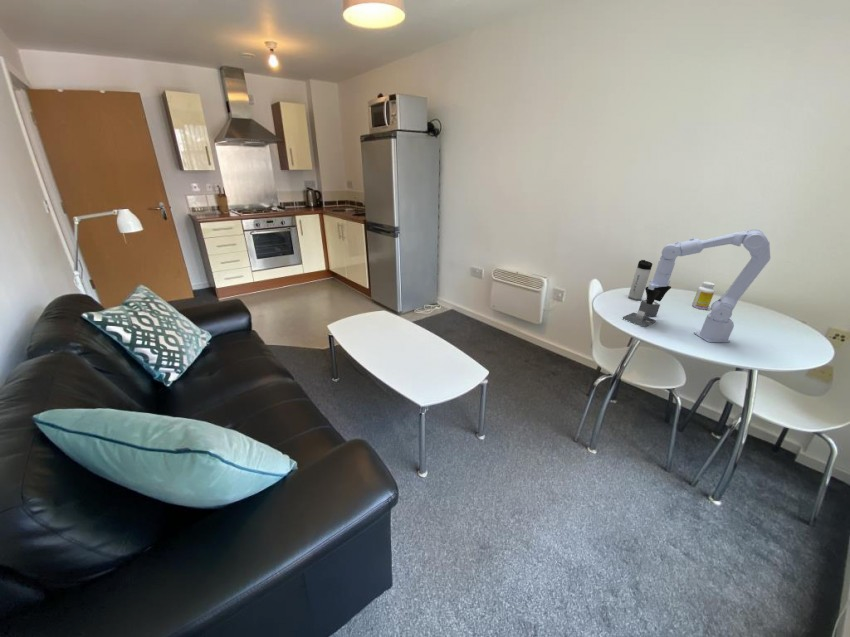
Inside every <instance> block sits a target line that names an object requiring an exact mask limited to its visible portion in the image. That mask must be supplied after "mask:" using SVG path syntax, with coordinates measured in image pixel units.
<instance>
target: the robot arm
mask: <svg viewBox="0 0 850 637" xmlns="http://www.w3.org/2000/svg"><path fill="white" fill-rule="evenodd" d="M741 244H742V245H743V247H744V249H746V250H747V251H748V252H749V255H750V257H751V258H750V259H749V261H748V262H747V264H745V266H744V267H743V268H742V270H741V271H740V272H739V274H738V275H737V277H736V278H735V279H734V281H733V282H732V283H731V285H730V286H729V287H728V289H727V290H726V291H725V293H723V294H722V296H720V298H718V300H715V301H713V302H712V304H711V306H710V309H711V312H709V313H708V314H706V317H705V319H704V322H703V324H702V327H701V329H700V331H697V332H696V331H694V332H693V334H694V335H696V336H698V337H699V338H701V339H703V340H705V341H706V342H708V343H729V342H730V340H729V339H730V336H731V334H732V332H733V330H734V327H735V324H734V321H733V319H732V318H731V317H732V316H733V311H734V309H735V307H736V306H737V304H738V301H740V298H742V296H743V295H744V294H745V292H746V291H747V290H748V288H750V286H751V285H752V283H753V282H754V281H755V279H756V278H758V276H759V274H760V273H761V272H762V271H763V269H764V268H765V267H766V265H767V264H768V263H769V262H770V260H771V247H770V246H771V244H770V241H769V239H768V238H767V236H766V235H765V233H764V232H763V231H762V230H760V229H749V230H741V231H737V232H732V233H728V234H723V235H720V236H717V237H716V236H715V237H711V238H709V239H704V240H701V239H700V238H694V237H690V238H689V239H688V240H685V241H680V242H679V241H675V242H674V243H668V244H666V245H665V246H664V247H663V248H662V250H661V256H660V258H659V260H658V264H657V266H656V269H655V272H654V276H653V279H649V283H650V284H648V286H646V287H645V290H644V291H645V294H646V303H647V304H650V305H652V304H653V302H654V301H655V302H661V301H662V299H663V298H664V296H665V295H666V294H667V292H668V291H670V290H671V288H672V286H671V285H670V283H671V280H670V279H671V276H672V273H673V270H674V267H675V265H676V259H678V257H685V256H690V255H694V254H700V253H701V252H703V250H704V249H710V248H715V247H720V246H725V245H733V246H737V247H741Z"/></svg>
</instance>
